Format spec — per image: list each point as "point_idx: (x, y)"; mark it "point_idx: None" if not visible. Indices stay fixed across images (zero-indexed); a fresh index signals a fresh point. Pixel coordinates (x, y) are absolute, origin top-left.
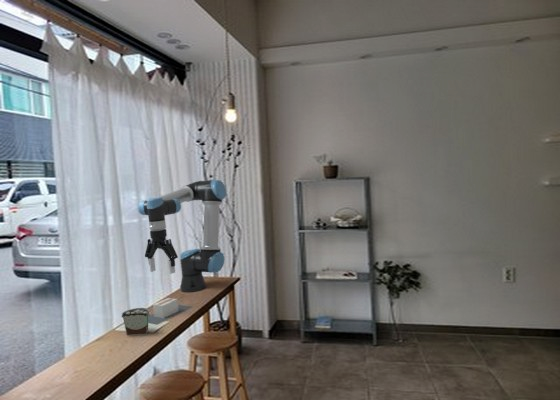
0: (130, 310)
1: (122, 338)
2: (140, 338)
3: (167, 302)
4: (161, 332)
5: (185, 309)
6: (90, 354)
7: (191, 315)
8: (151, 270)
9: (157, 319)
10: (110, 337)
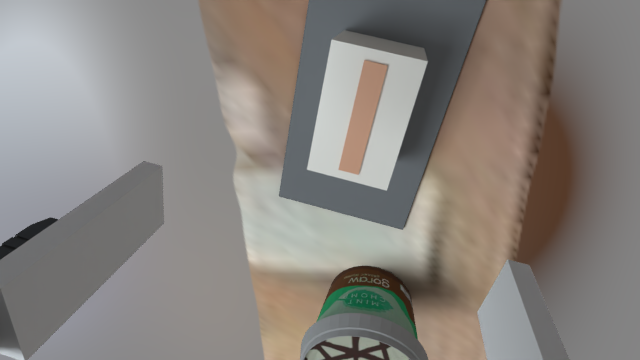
0: (311, 346)
1: None
2: None
3: (385, 132)
4: (465, 285)
5: (461, 17)
6: None
7: (542, 98)
8: (154, 230)
9: None
10: (284, 314)
